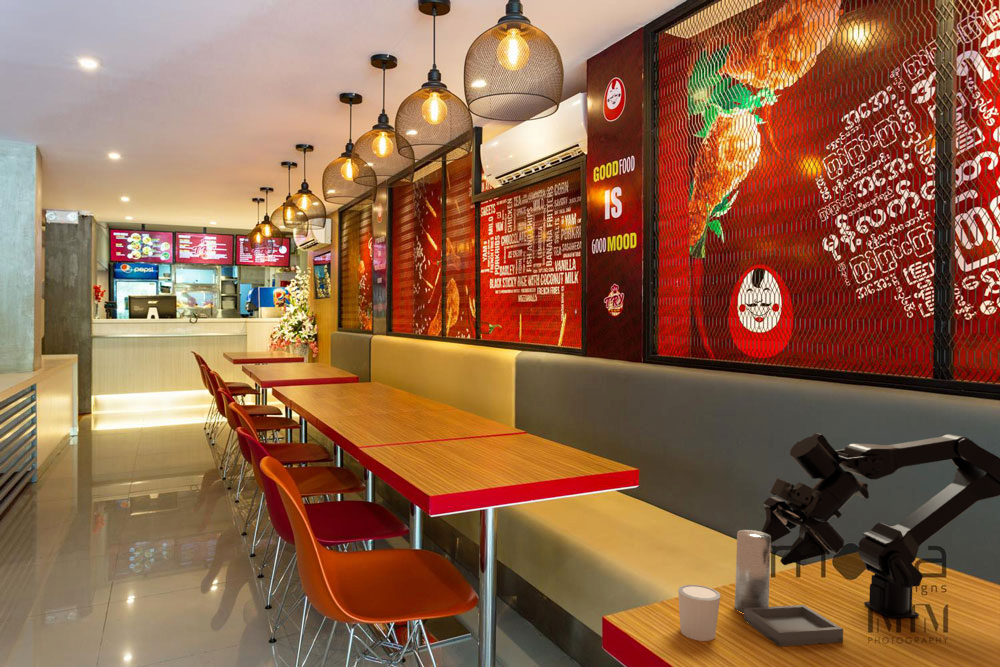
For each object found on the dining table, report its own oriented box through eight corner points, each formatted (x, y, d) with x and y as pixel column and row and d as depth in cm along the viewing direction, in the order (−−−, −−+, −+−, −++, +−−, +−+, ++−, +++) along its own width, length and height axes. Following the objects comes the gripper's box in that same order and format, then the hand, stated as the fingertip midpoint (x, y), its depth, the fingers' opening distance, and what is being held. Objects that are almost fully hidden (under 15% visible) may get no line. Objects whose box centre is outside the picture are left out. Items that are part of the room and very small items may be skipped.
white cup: (722, 645, 104) (723, 601, 104) (678, 639, 106) (679, 596, 106) (716, 627, 111) (717, 586, 111) (675, 622, 112) (676, 582, 113)
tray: (803, 617, 117) (803, 604, 117) (842, 642, 107) (843, 628, 107) (744, 620, 114) (744, 608, 114) (778, 646, 105) (779, 632, 105)
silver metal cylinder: (756, 603, 122) (758, 529, 122) (775, 616, 117) (777, 538, 117) (728, 604, 121) (731, 530, 121) (746, 617, 115) (749, 539, 116)
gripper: (774, 456, 129) (719, 509, 128) (829, 475, 111) (765, 538, 109) (810, 496, 130) (755, 550, 129) (871, 522, 111) (808, 585, 110)
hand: (769, 554), depth 119 cm, fingers open, 9 cm apart
